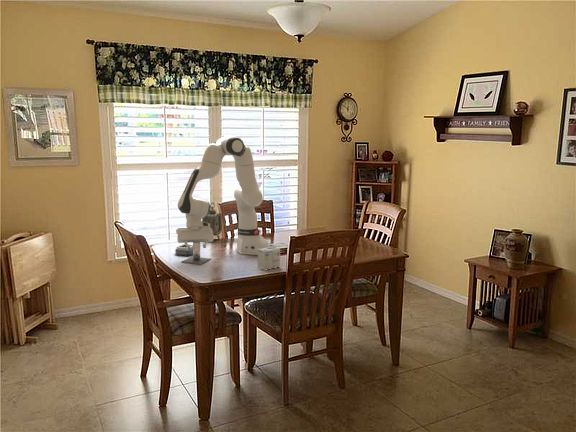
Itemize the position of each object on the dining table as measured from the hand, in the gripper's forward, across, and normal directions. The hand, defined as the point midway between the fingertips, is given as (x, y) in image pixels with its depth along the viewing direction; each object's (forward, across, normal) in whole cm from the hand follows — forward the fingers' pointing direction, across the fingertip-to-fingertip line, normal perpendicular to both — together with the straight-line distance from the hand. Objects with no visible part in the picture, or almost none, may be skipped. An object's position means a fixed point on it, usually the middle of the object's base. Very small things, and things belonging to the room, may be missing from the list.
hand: (196, 247), depth 283 cm
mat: (+5, 0, +6) cm, 8 cm away
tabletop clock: (-32, +16, +43) cm, 56 cm away
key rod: (+5, 0, +5) cm, 7 cm away
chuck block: (-8, -4, +18) cm, 20 cm away
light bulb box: (+20, +36, -9) cm, 43 cm away
